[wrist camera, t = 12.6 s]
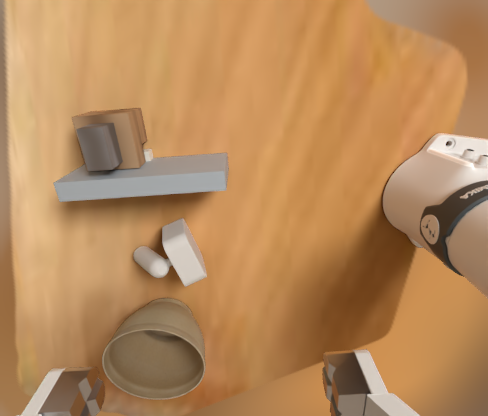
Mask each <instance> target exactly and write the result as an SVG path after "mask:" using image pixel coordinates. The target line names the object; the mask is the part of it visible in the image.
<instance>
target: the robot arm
mask: <svg viewBox="0 0 488 416" xmlns="http://www.w3.org/2000/svg"><path fill="white" fill-rule="evenodd" d="M448 141H449V143H448V145H446V143H447V142H448ZM383 209H384V213H385V215H386V217H387V219H388V221H389V222H390V223H391V224H392V225H393V226H394V227H395V228H397V229H399V230H400V231H402V232H404V233H405V234H407V236H408V237H409V239H410V241H411V242H412V243H413V244H414V245H415V246H417V247H419V248H423V247H424V248H425V249H426V250H428V251H429V252H430V253H432V254H433V255H434V256H436V257H437V258H439V259H440V260H441V261H442V262H443V263H444V265H445V266H447V267H448V268H449V269H451V270H453V271H454V272H455V273H457V274H459V275H461V276H463V277H465V278H466V279H467V280H468V281H469V282H471V283H472V284H473V285H474V286H475V287H476V288H477V289H478V290H479V291H480V292H481V293H482V294H484V295H485V296H486V297H487V298H488V139H483V138H476V137H468V136H460V135H452V134H445V133H438V134H436V135H434V136H433V137H432V138H431V139H430V140H429V141H428V142H427V143H426V145H425V146H424V147H423V148H422V150H421V151H420V152H418V153H417V154H415V155H414V156H412V157H411V158H409V159H408V160H406V161H405V162H404V163H403V164H402V165H400V166H399V167H398V168H397V170H396V171H395V172H394V173H393V175H392V176H391V178H390V179H389V181H388V183H387V185H386V188H385V191H384V195H383ZM323 361H324V365H325V367H324V368H323V384H324V389H325V393H326V397H327V399H328V400H329V401H330V402H331V405H330V412H331V416H420V415H419V414H418V413H416V412H415V411H414V410H413V409H412V408H410V407H409V406H408V405H407V404H406V403H404V402H403V401H402V400H401V399H400V398H398V397H397V396H396V395H395V394H393V393H388V391H387V389H386V387H385V384H384V382H383V380H382V378H381V376H380V374H379V372H378V370H377V367H376V365H375V363H374V361H373V359H372V357H371V354H370V352H369V351H368V350H367V349H366V350H346V351H332V352H324V354H323ZM98 376H99V371H98V369H97V367H75V368H53V369H52V370H51V371H49V372H48V373H47V375H46V377H45V378H44V380H43V381H42V383H41V384H40V386H39V387H38V389H37V391H36V392H35V394H34V395H33V397H32V398H31V400H30V402H29V403H28V405H27V406H26V408H25V409H24V411H23V413H22V414H21V415H17V416H96V415H97V414H98V413H99V412H100V410H101V408H102V405H103V403H104V397H105V386H104V383H103V381H101V380H100V379H98Z"/></svg>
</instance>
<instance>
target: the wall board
mask: <svg viewBox="0 0 488 416" xmlns="http://www.w3.org/2000/svg"><path fill="white" fill-rule="evenodd" d="M143 150H144V155H145V160H146V162H145V163H144V164H143V165H142V166H141V167H140V168H130V169H116V170H102V171H88V172H87V169H86V165H85V164H84V165H82V166H81V167H79V168H77V169H76V170H74V171H72V172H71V173H69V174H68V175H66V176H64V177H63V178H61V179H59V180H58V181H56V182H54V186H55V189H56V192H57V195H58V198H59V201H60V202H64V201H79V200H93V199H108V198H122V197H137V196H151V195H166V194H180V193H195V192H209V191H224V190H226V188H227V179H228V170H229V168H228V157H227V153H217V154H203V155H189V156H175V157H161V158H153V154H152V149H143Z"/></svg>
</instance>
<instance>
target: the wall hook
mask: <svg viewBox="0 0 488 416" xmlns="http://www.w3.org/2000/svg"><path fill="white" fill-rule="evenodd" d="M162 244H163V247H164V250H165V252H166V254H167V256H168V257H169V258H168V259H164V258H163V257H162V256H160V255H159V254H157V253H156V252H154V251H153V250H152V249H150V248H149V247H147V246H141V247H139V248H137V249H136V250H135V252H134V260H135V261H136V262H137V263H138V264H139V265H140V266H141V267H142V268H144V269H145V270H146V271H147V272H148V273H149V274H150V275H152V276H153V277H156V278H161V277H164V276H165V275H166V274H167V273H168V271H169V267H170V266H172V265H173V266H174V268H175V270H176V272H177V273H178V275H179V277H180V279H181V281H182V282H183V284H184V285H185V286H188V285H191V284H193V283H195V282H197V281H199V280H201V279H203V278H205V277H207V273H206V269H205V265H204V261H203V257H202V254H201V252H200V250H199V248H198V246H197V244H196V242H195V240H194V238H193V236H192V234H191V232H190V230H189V228H188V226H187V224H186V222H185V220H184V219H183V218H181V219H179V220H177V221H174V222H172V223H170V224H168V225H165V226H163V228H162Z"/></svg>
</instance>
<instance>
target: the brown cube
mask: <svg viewBox="0 0 488 416" xmlns="http://www.w3.org/2000/svg"><path fill="white" fill-rule="evenodd" d="M72 121H73V124H74V128H75V131H76V134H77V138H78V141H79V145H80V148H81V152H82V155H83V158H84V162H85V165H86V169H87V172H88V171H102V170H116V169H130V168H140V167H141V166H142V165H143V164H144V163H145V162H146V160H145V155H144V150H143V145H142V144H143V143H144V142H146V141H147V137H146V132H145V126H144V121H143V116H142V111H141V108H133V109H120V110H106V111H92V112H88V113H84V114H81V115H77V116H74V117H72Z"/></svg>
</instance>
